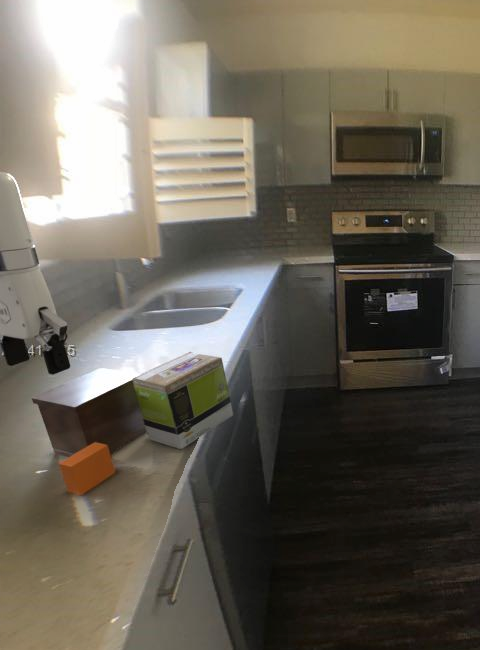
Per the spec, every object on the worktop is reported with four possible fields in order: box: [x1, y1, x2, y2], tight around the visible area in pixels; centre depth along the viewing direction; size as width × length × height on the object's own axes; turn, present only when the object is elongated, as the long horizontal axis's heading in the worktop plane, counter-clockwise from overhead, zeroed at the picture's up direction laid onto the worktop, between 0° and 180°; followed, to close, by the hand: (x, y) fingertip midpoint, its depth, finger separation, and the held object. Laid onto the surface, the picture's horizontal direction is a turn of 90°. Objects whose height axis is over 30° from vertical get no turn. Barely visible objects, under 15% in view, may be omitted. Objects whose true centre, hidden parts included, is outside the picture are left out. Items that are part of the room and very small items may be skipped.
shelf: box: [31, 367, 147, 458], centre depth 93 cm, size 12×15×13 cm
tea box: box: [132, 351, 234, 450], centre depth 97 cm, size 15×10×15 cm, turn 154°
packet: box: [58, 442, 116, 497], centre depth 82 cm, size 3×7×6 cm, turn 159°
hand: (39, 366), depth 74 cm, fingers open, 9 cm apart
